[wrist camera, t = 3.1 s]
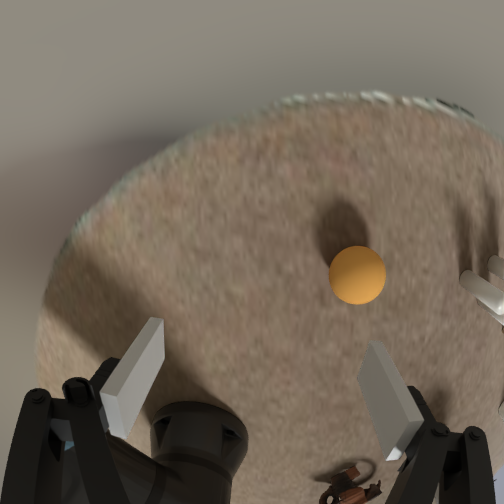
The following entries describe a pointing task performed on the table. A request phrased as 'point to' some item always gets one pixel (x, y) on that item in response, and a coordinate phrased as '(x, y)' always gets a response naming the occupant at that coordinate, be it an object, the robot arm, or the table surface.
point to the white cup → (501, 411)
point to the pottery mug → (349, 489)
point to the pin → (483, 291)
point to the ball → (357, 275)
